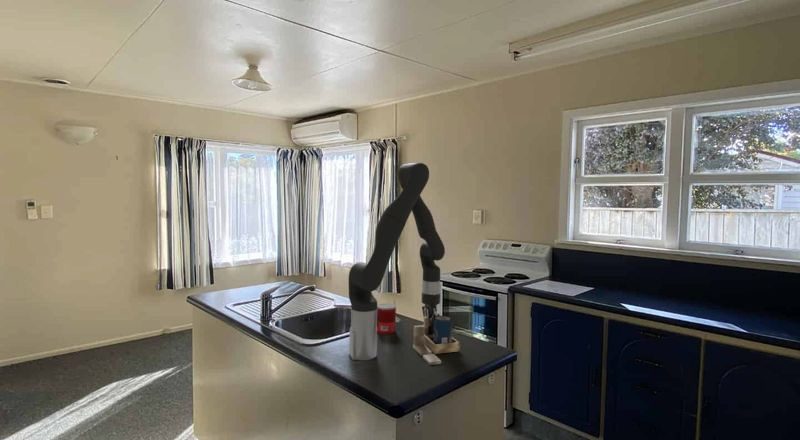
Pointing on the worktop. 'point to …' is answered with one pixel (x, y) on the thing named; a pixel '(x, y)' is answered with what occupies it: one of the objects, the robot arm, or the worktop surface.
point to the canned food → (386, 318)
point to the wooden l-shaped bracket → (423, 346)
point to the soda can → (442, 330)
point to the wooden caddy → (439, 347)
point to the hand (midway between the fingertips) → (429, 333)
